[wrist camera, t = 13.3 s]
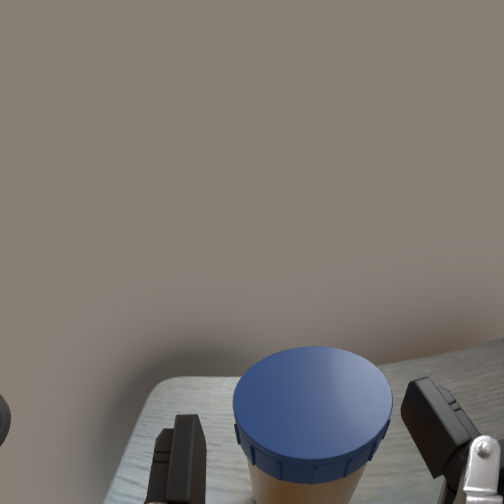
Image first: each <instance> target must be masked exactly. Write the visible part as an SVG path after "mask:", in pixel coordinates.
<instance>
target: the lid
mask: <svg viewBox="0 0 504 504" xmlns="http://www.w3.org/2000/svg"><path fill="white" fill-rule="evenodd" d="M392 407H393V397H392V391H391V388H390V385H389V383H388V381H387V379H386V377H385V376H384V375H383V373H382V372H381V371H380V370H379V369H378V368H377V367H376V366H375V365H373V364H372V363H371V362H369V361H368V360H366V359H364V358H363V357H360V356H359V355H356V354H354V353H351V352H348V351H345V350H341V349H335V348H330V347H299V348H293V349H289V350H284V351H281V352H278V353H275V354H272V355H270V356H268V357H266V358H264V359H262V360H260V361H259V362H257V363H256V364H254V365H253V366H252V367H251V368H250V369H248V370H247V371H246V372H245V374H244V375H243V376H242V377H241V379H240V380H239V382H238V384H237V386H236V388H235V391H234V395H233V411H234V417H235V422H236V424H234V427H235V432H236V437H237V442H238V445H239V444H240V445H241V448H242V449H243V451H244V453H245V455H246V456H247V457H248V459H249V460H250V461H251V464H252V465H253V466H254V465H255V466H256V467H257V468H259V469H260V470H262V471H263V472H265V473H266V474H268V475H270V476H272V477H274V478H277V480H279V481H280V480H283V481H286V482H291V483H297V484H311V485H314V484H320V483H326V482H331V481H334V480H338V479H341V478H343V477H344V478H346V477H347V476H348V475H350V474H351V473H353V472H355V471H356V470H358V469H359V468H361V467H362V466H363V465H364V464H366V463H367V462H368V461H371V460H372V457H373V455H374V453H375V452H376V450H377V448H378V446H379V444H380V442H381V439H384V437H385V434H386V431H387V429H388V426H389V424H390V421H391V418H390V415H391V411H392Z"/></svg>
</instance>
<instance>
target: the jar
mask: <svg viewBox="0 0 504 504" xmlns="http://www.w3.org/2000/svg"><path fill="white" fill-rule="evenodd" d="M247 462H248V467H249V472H250V478H251V483H252V488H253V494H254V499H255V504H349V502H350V500H351V498H352V496H353V494H354V492H355V490H356V487H357V485H358V483H359V481H360V479H361V476H362V474H363V472H364V469H365V467H366V465H367V463H366V464H364V465H363V466H362V467H361V468H359V469H358V470H356V471H355V472H353V473H351V474H350V475H348V476H347V477H346V478H344V477H343V478H341V479H338V480H334V481H331V482H326V483H320V484H314V485H311V484H297V483H291V482H286V481H283V480H280V481H279V480H277V478H274V477H272V476H270V475H268V474H266V473H265V472H263V471H262V470H260V469H259V468H257V467H256V466H255V465H254V466H253V465H252V464H251V461H250V460H249V459H248V457H247Z"/></svg>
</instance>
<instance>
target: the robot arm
mask: <svg viewBox="0 0 504 504" xmlns="http://www.w3.org/2000/svg"><path fill="white" fill-rule="evenodd" d="M401 417H402V420H403V422H404V424H405V425H406V427H407V429H408V431H409V433H410V435H411V436H412V438H413V440H414V442H415V444H416V446H417V448H418V450H419V451H420V453H421V455H422V457H423V459H424V461H425V463H426V465H427V467H428V469H429V471H430V473H431V475H432V477H433V478H434V479H435V478H437V477H439V476H441V475H444V477H445V480H444V482H443V485H442V489H441V492H440V496H439V499H438V503H437V504H504V439H503V440H498V441H497V440H496V439H495V438H493V437H491V436H487V435H484V436H482V435H481V434H480V433H479V431H478V430H477V429H476V427H475V426H474V424H473V423H472V421H471V420H470V419H469V417H468V416H467V414H466V413H465V412H464V410H463V409H461V406H460V405H459V403H458V402H456V399H455V398H454V397H453V395H452V394H451V393H450V391H448V390H447V389H445V388H444V387H442V386H441V385H439V386H436V385H435V384H434V382H433V381H432V380H431V378H429V377H423V378H420V379H417V380H414V381H411V382H410V383H409V384H408V387H407V390H406V393H405V396H404V399H403V402H402V405H401ZM206 454H207V449H206V440H205V436H204V433H203V430H202V427H201V423H200V420H199V417H198V415H197V414H188V415H176V418H175V424H174V429H163V430H162V432H161V433H160V434H159V436H158V437H157V439H156V443H155V448H154V454H153V460H152V461H153V463H152V466H151V472H150V478H149V484H148V491H147V497H146V500H145V502H144V504H205V493H206Z"/></svg>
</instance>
